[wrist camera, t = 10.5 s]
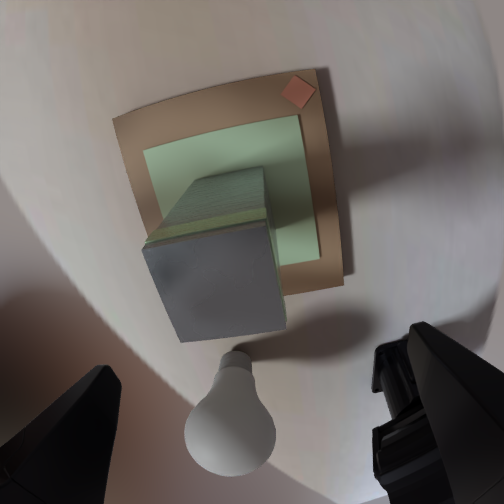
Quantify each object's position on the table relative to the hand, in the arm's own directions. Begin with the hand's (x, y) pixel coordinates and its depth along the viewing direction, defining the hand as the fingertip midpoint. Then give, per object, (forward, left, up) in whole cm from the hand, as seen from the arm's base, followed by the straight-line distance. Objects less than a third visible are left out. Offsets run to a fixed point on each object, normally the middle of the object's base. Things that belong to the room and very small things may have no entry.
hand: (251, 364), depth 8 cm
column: (+1, +1, -12) cm, 12 cm away
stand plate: (+1, +1, -13) cm, 13 cm away
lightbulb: (-12, +4, -13) cm, 18 cm away
